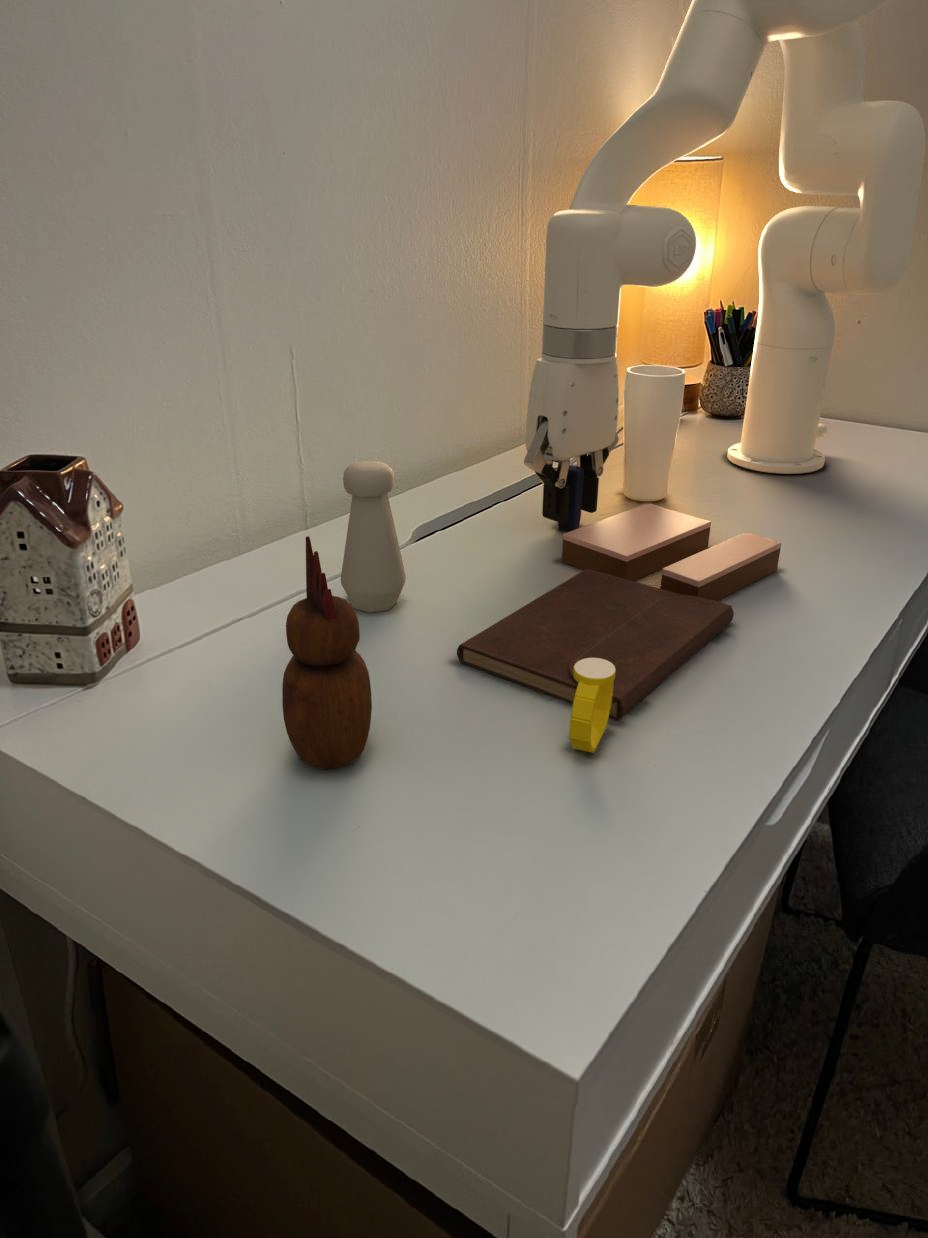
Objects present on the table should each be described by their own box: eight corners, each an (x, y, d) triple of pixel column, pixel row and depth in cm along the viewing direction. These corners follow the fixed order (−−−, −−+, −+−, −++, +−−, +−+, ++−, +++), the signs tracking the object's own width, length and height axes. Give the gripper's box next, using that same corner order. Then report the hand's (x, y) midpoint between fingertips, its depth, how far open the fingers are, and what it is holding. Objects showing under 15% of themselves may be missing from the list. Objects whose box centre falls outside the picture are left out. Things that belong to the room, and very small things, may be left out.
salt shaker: (415, 595, 86) (413, 458, 80) (391, 620, 81) (386, 477, 75) (358, 586, 88) (351, 452, 82) (331, 611, 83) (322, 470, 77)
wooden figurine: (292, 727, 65) (274, 528, 59) (374, 724, 66) (365, 526, 59) (283, 784, 59) (262, 569, 53) (373, 780, 60) (363, 566, 53)
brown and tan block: (645, 528, 102) (648, 502, 101) (707, 548, 97) (711, 521, 95) (561, 561, 93) (562, 533, 92) (624, 585, 88) (627, 556, 87)
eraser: (563, 522, 103) (566, 463, 100) (582, 526, 102) (585, 466, 99) (555, 528, 102) (558, 468, 99) (573, 532, 101) (577, 471, 98)
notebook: (456, 661, 74) (456, 638, 74) (582, 582, 88) (584, 563, 88) (621, 722, 66) (624, 698, 65) (732, 625, 80) (735, 605, 79)
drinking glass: (669, 488, 115) (682, 365, 108) (675, 506, 109) (689, 376, 102) (614, 486, 115) (624, 363, 109) (617, 504, 109) (627, 375, 103)
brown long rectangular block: (741, 559, 94) (745, 531, 93) (777, 570, 91) (781, 542, 90) (658, 598, 85) (662, 568, 84) (695, 612, 83) (699, 581, 81)
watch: (582, 716, 67) (587, 643, 64) (620, 724, 66) (626, 650, 63) (557, 759, 62) (561, 682, 59) (597, 769, 61) (603, 691, 58)
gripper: (603, 329, 101) (592, 490, 109) (494, 347, 91) (491, 523, 99) (659, 338, 96) (643, 506, 104) (551, 358, 86) (543, 542, 94)
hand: (569, 512), depth 101 cm, fingers open, 4 cm apart
